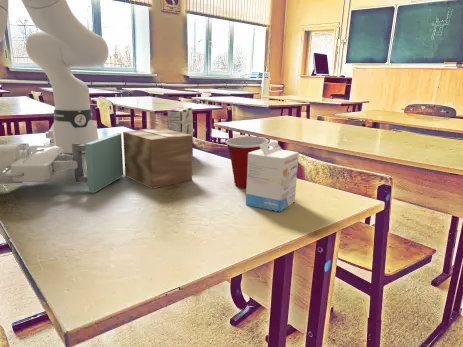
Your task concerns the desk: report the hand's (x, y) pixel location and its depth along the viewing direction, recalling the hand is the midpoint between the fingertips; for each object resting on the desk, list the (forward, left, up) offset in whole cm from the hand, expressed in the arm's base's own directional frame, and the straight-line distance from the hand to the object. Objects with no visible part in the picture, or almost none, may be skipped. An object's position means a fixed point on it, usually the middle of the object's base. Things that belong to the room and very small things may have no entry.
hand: (79, 161), depth 84 cm
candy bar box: (-12, +37, -7) cm, 40 cm away
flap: (-1, +5, -6) cm, 8 cm away
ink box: (+35, +28, -7) cm, 46 cm away
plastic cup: (+22, +33, -7) cm, 41 cm away
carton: (+3, +19, -7) cm, 21 cm away
